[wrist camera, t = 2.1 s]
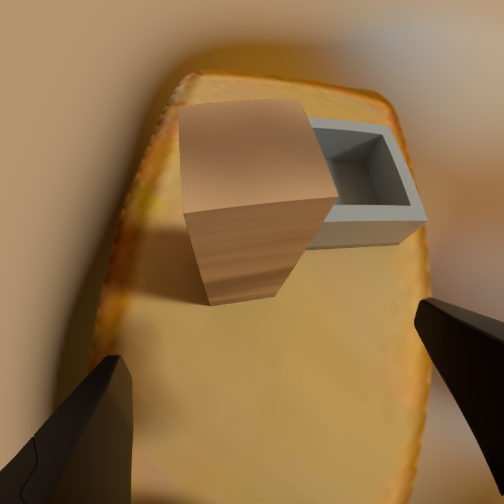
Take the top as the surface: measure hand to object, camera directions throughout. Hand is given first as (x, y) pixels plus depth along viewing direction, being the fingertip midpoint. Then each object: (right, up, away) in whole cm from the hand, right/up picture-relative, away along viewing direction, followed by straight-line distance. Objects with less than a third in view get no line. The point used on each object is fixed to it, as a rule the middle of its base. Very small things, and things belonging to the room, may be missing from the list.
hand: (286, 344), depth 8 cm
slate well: (+6, +7, +16) cm, 19 cm away
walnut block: (-2, +1, +13) cm, 14 cm away
